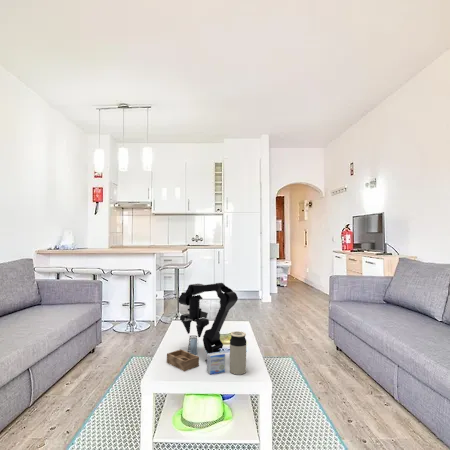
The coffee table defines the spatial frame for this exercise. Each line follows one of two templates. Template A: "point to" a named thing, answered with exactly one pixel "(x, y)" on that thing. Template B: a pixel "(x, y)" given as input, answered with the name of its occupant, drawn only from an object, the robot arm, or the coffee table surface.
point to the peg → (193, 346)
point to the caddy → (183, 360)
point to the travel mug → (238, 353)
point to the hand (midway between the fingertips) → (193, 335)
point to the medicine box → (215, 363)
